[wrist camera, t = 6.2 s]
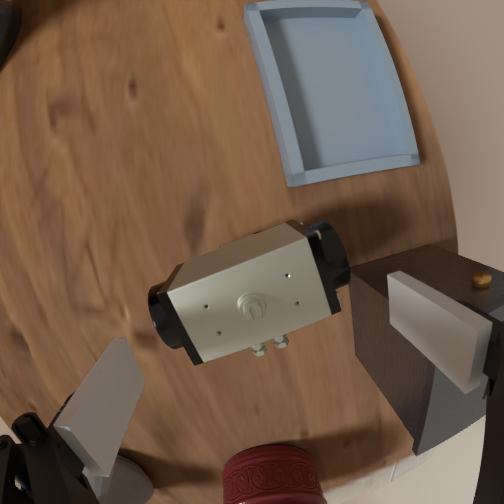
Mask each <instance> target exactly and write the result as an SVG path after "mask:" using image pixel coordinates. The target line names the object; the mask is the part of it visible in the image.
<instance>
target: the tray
mask: <svg viewBox="0 0 504 504" xmlns="http://www.w3.org/2000/svg"><path fill="white" fill-rule="evenodd" d="M243 20H244V23H245V26H246V30H247V33H248V36H249V39H250V43H251V46H252V50H253V53H254V56H255V60H256V63H257V67H258V70H259V74H260V78H261V81H262V85H263V88H264V92H265V96H266V100H267V103H268V107H269V111H270V115H271V119H272V123H273V127H274V131H275V135H276V139H277V143H278V147H279V151H280V155H281V160H282V164H283V168H284V173H285V177H286V181H287V186H288V187H295V186H300V185H305V184H310V183H315V182H320V181H325V180H330V179H335V178H341V177H346V176H351V175H357V174H363V173H368V172H374V171H380V170H386V169H392V168H399V167H405V166H412V165H419V164H420V159H419V154H418V149H417V144H416V140H415V135H414V131H413V127H412V123H411V119H410V115H409V111H408V107H407V104H406V100H405V97H404V93H403V90H402V87H401V84H400V81H399V78H398V75H397V72H396V69H395V66H394V63H393V60H392V57H391V55H390V52H389V50H388V47H387V44H386V42H385V39H384V37H383V35H382V32H381V30H380V27H379V25H378V23H377V21H376V18H375V16H374V14H373V12H372V10H371V8H370V6H369V4H368V2H362V1H349V0H278V1H266V2H256V3H247V4H245V8H244V19H243Z"/></svg>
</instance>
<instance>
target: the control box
mask: <svg viewBox="0 0 504 504" xmlns="http://www.w3.org/2000/svg"><path fill="white" fill-rule="evenodd" d="M397 271H402V272H403V273H405V274H407V275H409V276H411V277H413V278H415V279H417V280H418V281H420V282H422V283H424V284H426V285H428V286H430V287H431V288H433V289H435V290H437V291H439V292H440V293H442V294H444V295H446V296H448V297H449V298H451V299H453V300H456V299H457V300H461V301H465V302H468V303H470V304H471V305H473V306H475V308H476V307H477V308H479V309H480V310H481V311H484V312H486V313H487V314H489V315H491V316H493V317H494V318H496V319H498V320H500V321H501V322H503V321H504V272H502V271H499V270H497V269H494V268H491V267H489V266H486V265H483V264H481V263H479V262H476V261H473V260H471V259H468V258H465V257H463V256H460V255H457V254H454V253H452V252H449V251H446V250H443V249H441V248H438V247H435V246H432V245H426V246H423V247H419V248H416V249H413V250H410V251H406V252H403V253H400V254H396V255H393V256H390V257H386V258H383V259H379V260H376V261H372V262H369V263H365V264H362V265H358V266H355V267H351V268H350V272H351V279H350V282H349V291H350V299H351V309H352V318H353V329H354V341H355V355H356V356H357V358H358V359H359V361H360V362H361V363H362V365H363V366H364V368H365V369H366V371H367V372H368V373H369V375H370V376H371V378H372V379H373V381H374V382H375V383H376V385H377V386H378V388H379V389H380V391H381V392H382V393H383V395H384V396H385V398H386V399H387V401H388V402H389V404H390V405H391V406H392V408H393V409H394V411H395V412H396V414H397V415H398V417H399V418H400V420H401V421H402V423H403V424H404V426H405V427H406V428H407V430H408V431H409V433H410V434H411V436H412V437H413V439H414V443H413V447H412V450H413V452H414V453H415V455H416V456H418V455H420V454H422V453H424V452H426V451H427V450H429V449H431V448H433V447H435V446H437V445H438V444H440V443H442V442H444V441H445V440H447V439H449V438H451V437H452V436H454V435H456V434H457V433H459V432H460V431H462V430H463V429H465V428H467V427H468V426H470V425H471V424H473V423H474V422H476V421H477V420H479V419H480V418H481V417H483V416H484V415H486V398H487V395H486V397H485V399H482V398H483V395H484V392H485V388H486V385H487V381H488V376H486V375H485V374H484V373H483V374H482V378H481V382H480V386H478V387H476V388H475V389H473V390H472V391H470V392H469V393H467V394H464V393H463V392H462V391H461V390H460V389H459V388H458V387H457V386H456V385H455V384H454V383H453V382H452V381H451V380H450V379H449V378H448V377H447V376H446V375H445V374H444V373H443V372H442V371H441V370H440V369H439V368H438V367H437V366H435V365H434V364H433V363H432V362H431V361H430V360H429V359H428V358H427V357H426V356H425V355H424V354H423V353H422V352H421V351H420V350H418V349H417V348H416V347H415V346H414V345H413V344H412V343H411V342H410V341H409V340H408V339H407V338H405V337H404V336H403V335H402V334H401V333H400V332H399V331H398V330H397V329H396V328H394V327H393V326H392V325H391V324H390V311H389V293H388V279H387V274H391V273H394V272H397Z"/></svg>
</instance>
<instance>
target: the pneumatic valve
mask: <svg viewBox="0 0 504 504" xmlns="http://www.w3.org/2000/svg"><path fill="white" fill-rule="evenodd" d="M350 279H351V272H350V266H349V262H348V258H347V255H346V252H345V249H344V247H343V245H342V242H341V240H340V238H339V236H338V234H337V233H336V231H335V230H334V228H333V227H332V225H331V224H330V223H329V222H328V221H326V220H320V221H317V222H315V223H312V224H310V225H307V226H304V225H303V223H302V222H299V223H298V222H296V221H295V220H291V221H288V222H285V223H283V224H280V225H278V226H275V227H273V228H270V229H267V230H265V231H262V232H260V233H257V234H255V235H254V233H252V234H250V235H247V236H245V237H242V238H240V239H237V240H235V241H232V242H229V243H227V244H224V245H222V246H219V249H217V250H214V251H212V252H209V253H207V254H204V255H202V256H199V257H197V258H194V259H192V260H189V261H187V262H184V263H182V264H179V265H177V266H176V267H175V269H174V270H173V272H172V273H171V275H170V276H169V278H168V279H167V281H165V282H162V283H160V284H157V285H155V286H152V287H151V288H150V290H149V293H148V306H149V311H150V315H151V318H152V321H153V324H154V326H155V328H156V330H157V332H158V334H159V336H160V337H161V339H162V340H163V341H164V342H165V344H166V345H168V346H169V347H170V348H172V349H178V348H181V347H184V348H185V350H186V352H187V354H188V355H189V357H190V359H191V361H192V362H193V364H194V365H198V364H201V363H205V362H208V361H211V360H214V359H217V358H220V357H223V356H226V355H229V354H232V353H235V352H238V351H241V350H244V349H247V348H249V347H250V348H251V349H252V352H253V354H254V355H255V356H257V357H259V356H262V355H264V354H265V353H266V351H267V348H266V346H264V342H266V341H269V340H271V339H272V340H273V341H275V342H274V345H275V346H276V347H277V348H284V347H286V346H287V345H288V342H289V340H288V338H287V337H286V334H287V333H290V332H292V331H295V330H297V329H300V328H302V327H305V326H307V325H309V324H312V323H314V322H317V321H319V320H321V319H324V318H326V317H329V316H331V315H333V314H335V313H338V312H340V311H341V308H340V304H339V300H340V296H339V294H338V292H337V291H336V290H335V289H338V288H340V287H342V286H345V285H347V284H349V282H350Z"/></svg>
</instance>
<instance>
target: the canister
mask: <svg viewBox="0 0 504 504" xmlns="http://www.w3.org/2000/svg"><path fill="white" fill-rule="evenodd" d="M222 485H223V504H327V501H326V499H325V498H324V495H323V492H322V488H321V485H320V482H319V478H318V470H317V467H316V464H315V462H314V461H313V459H312V458H311V456H310V455H309V454H308V453H307V452H306V451H304V450H302V449H300V448H297V447H293V446H287V445H268V446H261V447H256V448H252V449H249V450H246V451H243V452H241V453H239V454H237V455H235V456H233V457H232V458H231V459H230V460H229V461H228V462H227V463H226V465H225V467H224V471H223V474H222Z"/></svg>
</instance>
